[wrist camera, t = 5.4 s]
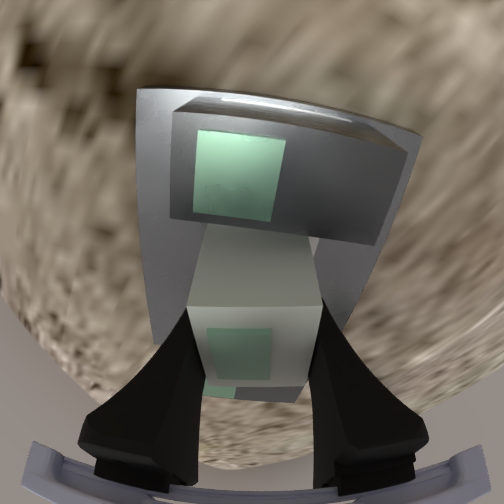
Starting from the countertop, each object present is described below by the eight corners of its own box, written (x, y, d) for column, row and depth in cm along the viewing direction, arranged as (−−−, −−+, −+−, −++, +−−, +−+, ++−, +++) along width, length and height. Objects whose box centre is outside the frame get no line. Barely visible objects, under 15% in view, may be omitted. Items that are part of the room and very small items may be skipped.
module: (304, 217, 13) (323, 311, 8) (296, 301, 16) (305, 390, 11) (208, 218, 13) (185, 311, 9) (219, 301, 16) (208, 389, 12)
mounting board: (413, 130, 12) (469, 168, 8) (322, 350, 21) (330, 407, 17) (145, 86, 11) (91, 104, 7) (157, 333, 20) (141, 389, 16)
